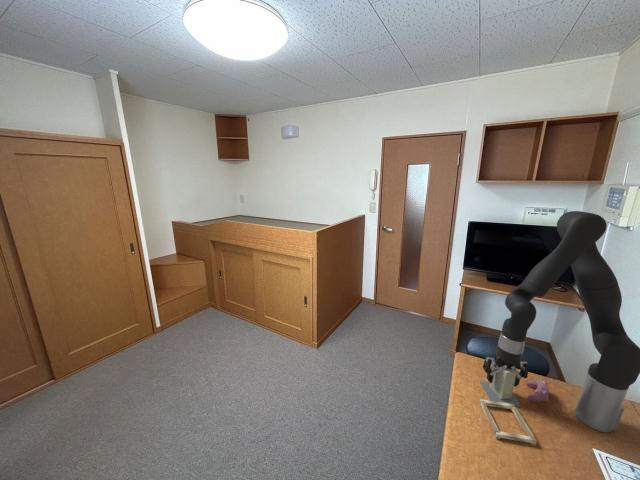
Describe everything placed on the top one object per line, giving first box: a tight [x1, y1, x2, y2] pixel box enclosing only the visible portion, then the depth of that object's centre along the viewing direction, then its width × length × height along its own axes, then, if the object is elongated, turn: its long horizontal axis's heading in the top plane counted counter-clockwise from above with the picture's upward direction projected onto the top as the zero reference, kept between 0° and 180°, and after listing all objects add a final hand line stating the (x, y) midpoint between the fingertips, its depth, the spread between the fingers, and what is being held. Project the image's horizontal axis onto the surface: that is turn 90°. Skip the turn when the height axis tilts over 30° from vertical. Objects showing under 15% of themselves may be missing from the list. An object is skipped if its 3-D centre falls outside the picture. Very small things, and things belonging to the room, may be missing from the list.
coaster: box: [479, 380, 522, 408], centre depth 100 cm, size 10×10×1 cm
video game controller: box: [526, 379, 550, 403], centre depth 99 cm, size 10×5×7 cm, turn 143°
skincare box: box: [490, 365, 518, 399], centre depth 99 cm, size 6×4×12 cm
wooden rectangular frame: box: [478, 398, 538, 446], centre depth 88 cm, size 11×13×2 cm
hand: (501, 383), depth 99 cm, fingers open, 8 cm apart
